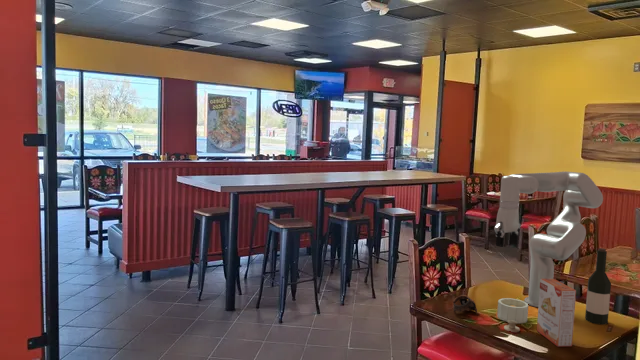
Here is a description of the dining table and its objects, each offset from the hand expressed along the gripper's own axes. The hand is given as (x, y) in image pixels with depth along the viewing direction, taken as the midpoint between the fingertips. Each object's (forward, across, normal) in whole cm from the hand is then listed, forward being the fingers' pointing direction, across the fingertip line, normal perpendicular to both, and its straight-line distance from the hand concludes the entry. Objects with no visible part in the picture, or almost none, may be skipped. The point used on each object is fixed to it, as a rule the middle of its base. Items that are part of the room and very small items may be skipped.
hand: (506, 245), depth 204 cm
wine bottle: (+28, -23, +28) cm, 46 cm away
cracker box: (+28, +10, +28) cm, 42 cm away
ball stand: (+28, +16, +15) cm, 36 cm away
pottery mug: (+29, +16, -7) cm, 34 cm away
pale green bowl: (+28, +5, +8) cm, 30 cm away
